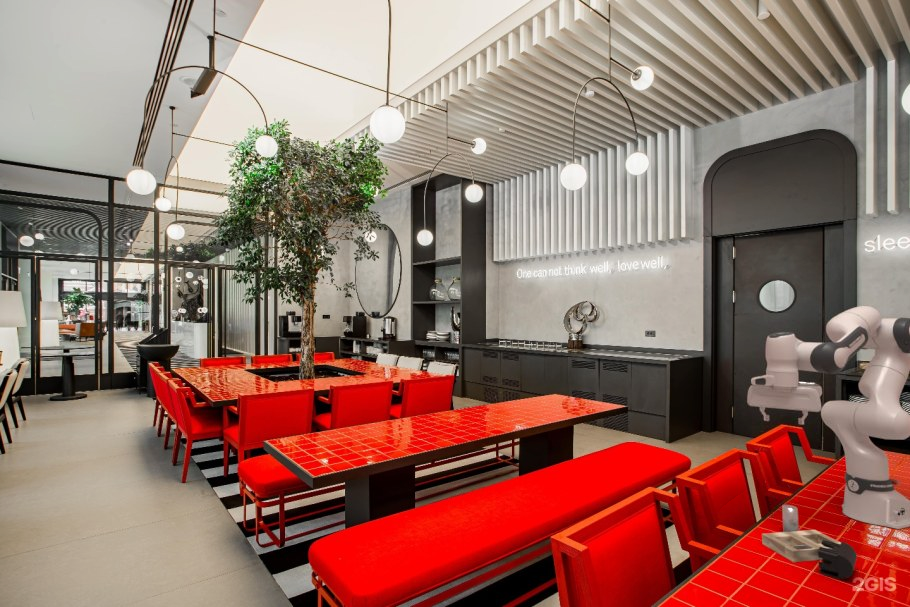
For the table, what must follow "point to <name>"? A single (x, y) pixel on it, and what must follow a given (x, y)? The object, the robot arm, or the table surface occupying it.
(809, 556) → the beige rectangular frame
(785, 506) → the metal pin
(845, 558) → the end cap
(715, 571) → the table surface
